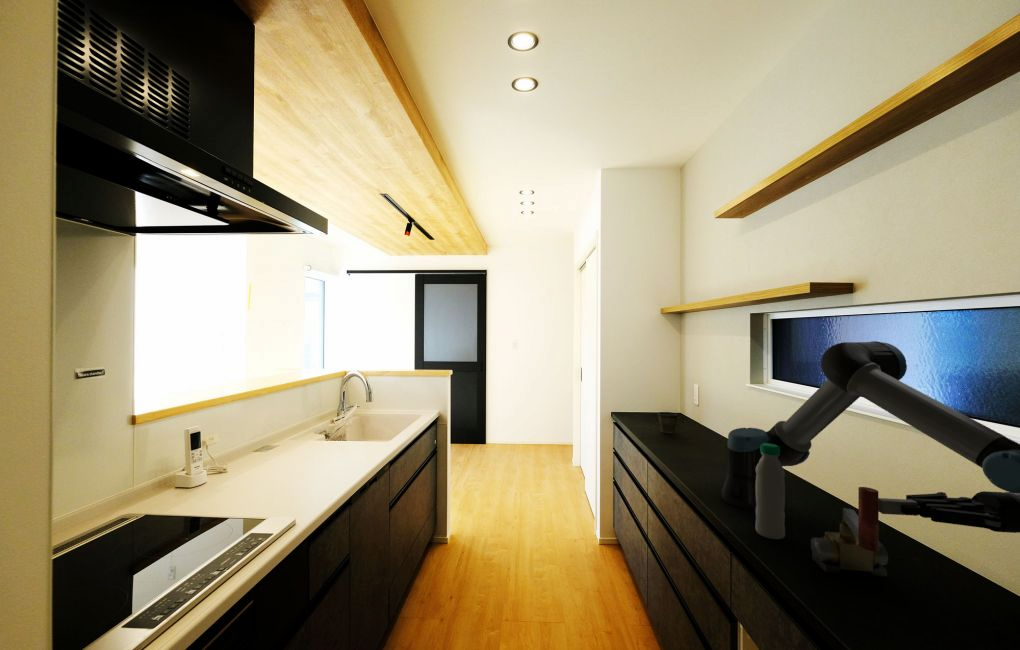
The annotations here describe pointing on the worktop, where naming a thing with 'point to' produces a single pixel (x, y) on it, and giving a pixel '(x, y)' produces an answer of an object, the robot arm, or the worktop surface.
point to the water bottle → (770, 493)
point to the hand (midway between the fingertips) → (880, 505)
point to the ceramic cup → (668, 421)
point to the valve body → (847, 553)
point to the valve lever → (864, 519)
